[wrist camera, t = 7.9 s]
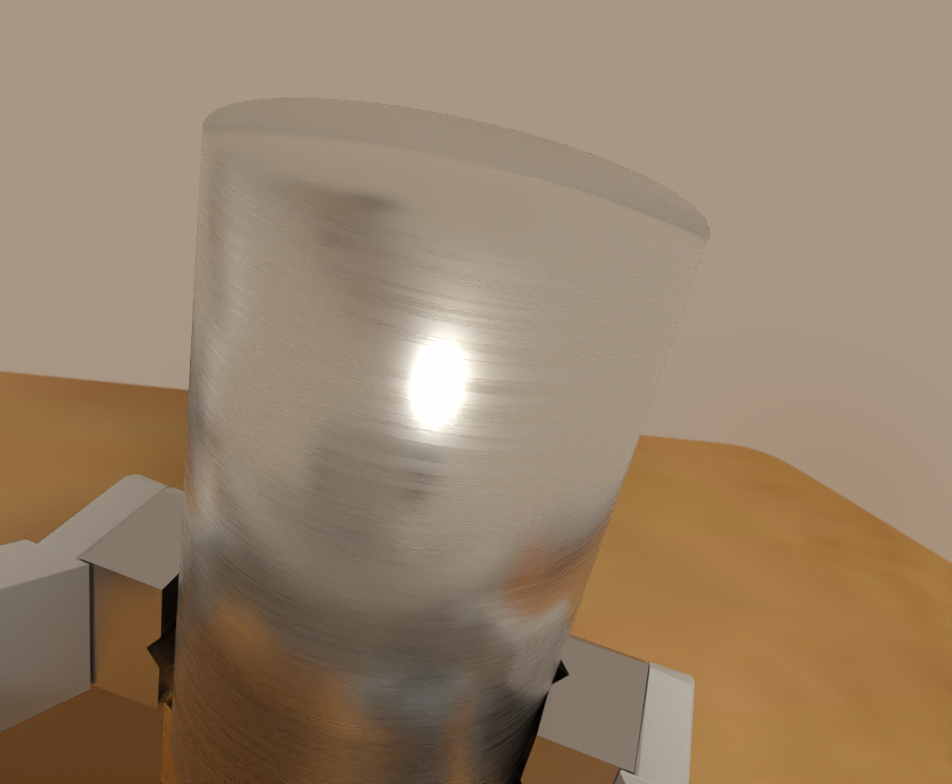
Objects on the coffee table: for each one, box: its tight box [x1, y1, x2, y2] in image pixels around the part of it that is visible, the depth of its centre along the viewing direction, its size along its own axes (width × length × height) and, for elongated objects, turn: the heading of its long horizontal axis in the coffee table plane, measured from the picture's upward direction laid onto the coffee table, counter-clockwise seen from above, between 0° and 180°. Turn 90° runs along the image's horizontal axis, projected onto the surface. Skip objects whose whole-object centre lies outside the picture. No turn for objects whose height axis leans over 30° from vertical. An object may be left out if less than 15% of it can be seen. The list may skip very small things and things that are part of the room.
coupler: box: [160, 98, 710, 784], centre depth 10 cm, size 4×4×14 cm
